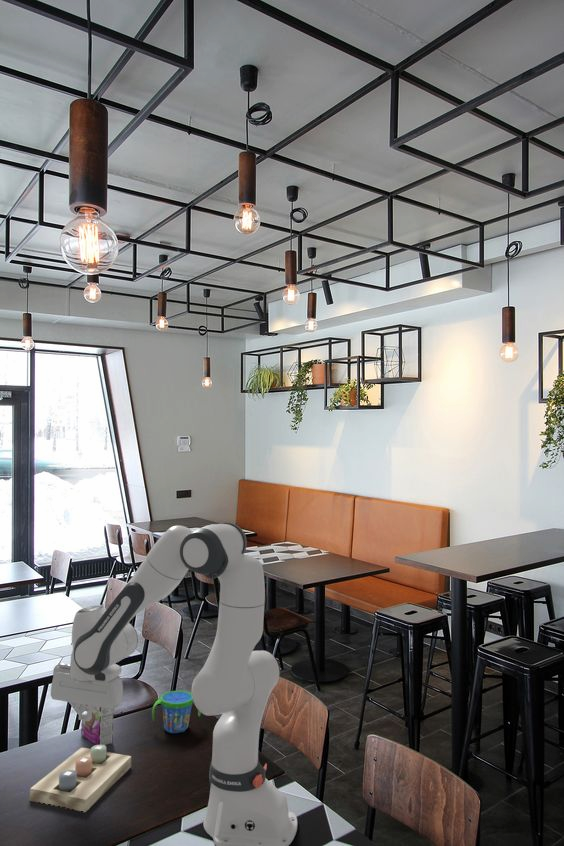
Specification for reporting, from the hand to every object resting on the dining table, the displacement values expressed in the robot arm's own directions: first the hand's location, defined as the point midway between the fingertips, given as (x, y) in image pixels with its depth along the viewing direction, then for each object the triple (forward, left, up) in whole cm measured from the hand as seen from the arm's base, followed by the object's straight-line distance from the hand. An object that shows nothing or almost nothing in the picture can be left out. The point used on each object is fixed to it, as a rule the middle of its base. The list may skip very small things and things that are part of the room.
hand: (85, 719), depth 160 cm
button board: (0, 0, -17) cm, 17 cm away
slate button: (0, +7, -14) cm, 16 cm away
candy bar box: (+10, -22, -17) cm, 29 cm away
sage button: (0, -7, -14) cm, 16 cm away
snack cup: (-10, -36, -17) cm, 41 cm away
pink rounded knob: (0, 0, -14) cm, 14 cm away
